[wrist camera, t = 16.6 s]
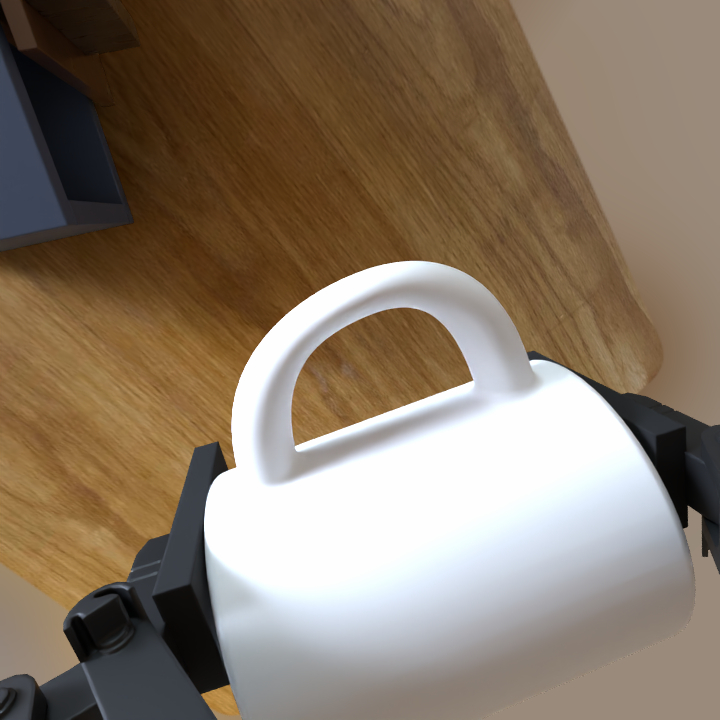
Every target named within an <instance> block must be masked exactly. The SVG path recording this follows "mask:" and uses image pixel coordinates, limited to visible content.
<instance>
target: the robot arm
mask: <svg viewBox="0 0 720 720" xmlns="http://www.w3.org/2000/svg"><path fill="white" fill-rule="evenodd" d="M527 355H528V359H529V361H531V360H545V361H550V362H553V363H556V364H558V365H560V366H562V367H565V366H563V365H561V364H559V363H557V362H555V361H553V360H551V359H549V358H547V357H545V356H543V355H541V354H539V353H537V352H535V351H531V352H528V353H527ZM565 368H566V369H568V370H570V371H571V372H573V373H575V374H576V375H577V376H579V377H580V378H582V379H583V380H584V381H585V382H587V383H588V384H589V385H590V386H591V387H592V388H594V389H595V390H596V391H597V392H598V393H599V394H600V395H601V396H602V397H603V398H604V399H605V400H606V401H607V402H608V403H609V404H610V406H611V407H612V408H613V409H614V410H615V411H616V412H617V414H618V415H619V416H620V417H621V418H622V420H623V421H624V422H625V424H626V425H627V426H628V427H629V429H630V430H631V431H632V433H633V434H634V436H635V437H636V439H637V440H638V441H639V443H640V444H641V446H642V447H643V449H644V451H645V452H646V454H647V455H648V457H649V458H650V460H651V462H652V464H653V465H654V467H655V469H656V470H657V472H658V474H659V476H660V478H661V480H662V482H663V484H664V486H665V487H666V489H667V492H668V494H669V496H670V498H671V500H672V502H673V504H674V507H675V509H676V512H677V514H678V517H679V519H680V522H681V525H682V527H683V528H686V527H688V507H687V506H690V507H691V508H693V509H694V510H696V511H697V512H699V513H700V514H702V556H703V557H708V550H709V549H710V551H711V554H712V556H713V559H714V561H715V564H716V566H717V569H718V571H719V574H720V425H715V426H712V427H710V426H708V425H706V424H704V423H702V422H700V421H698V420H695V419H693V418H691V417H689V416H687V415H685V414H683V413H681V412H678V411H674V409H672V408H670V407H668V406H666V405H663V406H662V404H661V403H659V402H657V401H655V400H653V399H651V398H649V397H646V396H641V395H637V394H632V393H625V394H620V393H618V392H616V391H614V390H612V389H610V388H608V387H606V386H604V385H602V384H600V383H598V382H596V381H594V380H592V379H590V378H588V377H586V376H584V375H582V374H580V373H578V372H576V371H574V370H572V369H569V368H567V367H565ZM226 471H229V470H228V468H227V465H226V462H225V459H224V456H223V454H222V451H221V448H220V445H219V442H214V443H211V444H207V445H204V446H201V447H197V448H195V449H194V453H193V456H192V460H191V463H190V466H189V470H188V473H187V477H186V480H185V484H184V487H183V490H182V494H181V497H180V501H179V504H178V508H177V511H176V514H175V518H174V521H173V525H172V528H171V532H170V534H167V535H164V536H160V537H157V538H154V539H150V540H149V541H148V542H147V543H146V544H145V545H144V547H143V548H142V549H141V550H140V551H139V553H138V554H137V555H136V558H135V560H134V563H133V566H132V568H131V572H130V574H129V576H128V579H127V582H115V583H112V584H108V585H105V586H103V587H101V588H99V589H97V590H95V591H93V592H91V593H90V594H89V595H87V596H86V597H84V598H83V599H82V600H80V601H79V602H78V603H77V604H76V605H75V606H74V607H73V608H72V610H71V611H70V612H69V613H68V615H67V617H66V619H65V621H64V624H63V625H64V626H63V627H64V628H63V631H64V633H65V635H66V637H67V639H68V640H69V642H70V644H71V646H72V648H73V650H74V652H75V653H76V655H77V657H78V659H79V661H80V663H79V664H77V665H76V666H74V667H73V668H71V669H70V670H68V671H66V672H64V673H63V674H61V675H59V676H57V677H56V678H54V679H52V680H50V681H48V682H47V683H45V684H43V685H42V686H38V684H37V682H36V681H35V679H34V678H33V677H31V676H29V675H28V674H23V675H14V676H12V677H9V678H7V679H4V680H2V681H0V720H217V718H216V717H215V715H214V714H213V712H212V711H211V709H210V708H209V706H208V705H207V703H206V702H205V700H204V699H203V698H202V696H201V695H200V694H203V693H206V692H209V691H211V690H214V689H217V688H220V687H223V686H226V685H229V684H230V682H229V679H228V675H227V672H226V668H225V665H224V661H223V657H222V653H221V649H220V645H219V640H218V636H217V632H216V627H215V622H214V617H213V612H212V606H211V600H210V594H209V587H208V579H207V570H206V560H205V544H204V521H205V509H206V502H207V498H208V494H209V491H210V488H211V486H212V484H213V482H214V481H215V479H216V478H217V477H218V476H219V475H220V474H222V473H224V472H226Z"/></svg>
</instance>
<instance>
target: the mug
mask: <svg viewBox="0 0 720 720" xmlns="http://www.w3.org/2000/svg"><path fill="white" fill-rule="evenodd" d="M401 307H407V308H415V309H419V310H422V311H425V312H427V313H429V314H431V315H432V316H434V317H435V318H436V319H438V320H439V321H440V322H441V323H442V324H443V325H444V326H445V327H446V328H447V329H448V331H449V332H450V333H451V335H452V336H453V337H454V339H455V340H456V342H457V344H458V346H459V348H460V349H461V351H462V353H463V355H464V358H465V360H466V362H467V364H468V367H469V370H470V372H471V375H472V378H473V380H474V381H472V382H469V383H466V384H464V385H461V386H458V387H455V388H453V389H450V390H447V391H445V392H442V393H439V394H436V395H434V396H431V397H428V398H425V399H423V400H420V401H417V402H415V403H412V404H409V405H406V406H404V407H401V408H398V409H395V410H393V411H390V412H387V413H384V414H382V415H379V416H376V417H374V418H371V419H368V420H365V421H363V422H360V423H357V424H354V425H352V426H349V427H346V428H344V429H341V430H338V431H335V432H333V433H330V434H327V435H324V436H322V437H319V438H316V439H314V440H311V441H308V442H305V443H303V444H300V445H297V446H295V444H294V439H293V433H292V424H291V405H292V396H293V391H294V387H295V383H296V380H297V377H298V375H299V373H300V370H301V368H302V367H303V365H304V363H305V362H306V360H307V359H308V357H309V356H310V355H311V353H312V352H313V351H314V350H315V349H316V348H317V347H318V346H319V345H320V344H321V343H322V342H323V341H324V340H326V339H327V338H328V337H330V336H331V335H333V334H334V333H336V332H337V331H339V330H340V329H342V328H344V327H346V326H347V325H349V324H351V323H353V322H355V321H357V320H359V319H362V318H364V317H366V316H368V315H371V314H374V313H377V312H380V311H383V310H387V309H392V308H401ZM232 441H233V449H234V455H235V461H236V465H237V468H234V469H232V470H229V471H226V472H224V473H222V474H220V475H219V476H218V477H217V478H216V479H215V481H214V482H213V484H212V486H211V488H210V491H209V494H208V498H207V502H206V509H205V521H204V544H205V560H206V570H207V579H208V587H209V594H210V600H211V606H212V612H213V617H214V622H215V627H216V632H217V636H218V640H219V645H220V649H221V653H222V657H223V661H224V665H225V668H226V672H227V675H228V679H229V682H230V685H231V689H232V692H233V695H234V698H235V701H236V704H237V707H238V709H239V712H240V715H241V718H242V720H481V719H484V718H486V717H488V716H490V715H493V714H495V713H497V712H499V711H502V710H504V709H507V708H509V707H511V706H514V705H516V704H518V703H520V702H523V701H525V700H527V699H530V698H532V697H534V696H537V695H539V694H541V693H544V692H546V691H548V690H550V689H553V688H555V687H557V686H560V685H562V684H564V683H567V682H569V681H571V680H574V679H576V678H578V677H581V676H583V675H585V674H587V673H590V672H592V671H594V670H597V669H599V668H601V667H604V666H606V665H608V664H611V663H613V662H615V661H617V660H620V659H622V658H625V657H627V656H629V655H632V654H634V653H636V652H638V651H641V650H643V649H645V648H648V647H650V646H652V645H655V644H657V643H659V642H662V641H664V640H666V639H668V638H671V637H673V636H675V635H677V634H679V633H680V632H681V631H682V630H683V629H684V628H685V627H686V626H687V624H688V623H689V621H690V618H691V616H692V613H693V609H694V604H695V577H694V569H693V564H692V559H691V555H690V550H689V547H688V543H687V540H686V536H685V533H684V531H683V527H682V525H681V522H680V519H679V517H678V514H677V512H676V509H675V507H674V504H673V502H672V500H671V498H670V496H669V494H668V492H667V489H666V487H665V486H664V484H663V482H662V480H661V478H660V476H659V474H658V472H657V470H656V469H655V467H654V465H653V464H652V462H651V460H650V458H649V457H648V455H647V454H646V452H645V451H644V449H643V447H642V446H641V444H640V443H639V441H638V440H637V439H636V437H635V436H634V434H633V433H632V431H631V430H630V429H629V427H628V426H627V425H626V424H625V422H624V421H623V420H622V418H621V417H620V416H619V415H618V414H617V412H616V411H615V410H614V409H613V408H612V407H611V406H610V404H609V403H608V402H607V401H606V400H605V399H604V398H603V397H602V396H601V395H600V394H599V393H598V392H597V391H596V390H595V389H594V388H592V387H591V386H590V385H589V384H588V383H587V382H585V381H584V380H583V379H582V378H580V377H579V376H577V375H576V374H575V373H573V372H571V371H570V370H568V369H566V368H565V367H562V366H560V365H558V364H556V363H553V362H550V361H545V360H531V361H529V359H528V355H527V353H526V350H525V348H524V345H523V343H522V341H521V338H520V336H519V334H518V331H517V329H516V327H515V326H514V324H513V322H512V320H511V318H510V317H509V315H508V314H507V312H506V311H505V309H504V308H503V306H502V305H501V304H500V302H499V301H498V300H497V299H496V298H495V296H494V295H493V294H492V293H491V292H490V291H489V290H488V289H487V288H486V287H484V286H483V285H482V284H481V283H480V282H478V281H477V280H476V279H474V278H473V277H471V276H469V275H468V274H466V273H464V272H462V271H460V270H458V269H455V268H453V267H450V266H447V265H443V264H439V263H434V262H426V261H404V262H395V263H390V264H384V265H380V266H377V267H373V268H369V269H367V270H364V271H361V272H358V273H355V274H353V275H351V276H348V277H346V278H344V279H342V280H339V281H337V282H335V283H333V284H331V285H329V286H328V287H326V288H324V289H322V290H320V291H319V292H317V293H315V294H314V295H312V296H311V297H309V298H308V299H306V300H305V301H303V302H302V303H301V304H299V305H298V306H297V307H295V308H294V309H293V310H292V311H291V312H289V313H288V314H287V315H286V316H285V317H284V318H282V319H281V320H280V321H279V322H278V323H277V324H276V325H275V326H274V327H273V328H272V329H271V331H270V332H269V333H268V334H267V335H266V336H265V338H264V339H263V340H262V341H261V343H260V344H259V345H258V347H257V348H256V350H255V351H254V353H253V354H252V356H251V358H250V359H249V361H248V363H247V365H246V367H245V369H244V371H243V373H242V376H241V378H240V381H239V384H238V387H237V391H236V394H235V399H234V404H233V411H232Z"/></svg>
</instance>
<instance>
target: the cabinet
mask: <svg viewBox="0 0 720 720" xmlns="http://www.w3.org/2000/svg"><path fill="white" fill-rule="evenodd" d="M130 223H134V220H133V217H132V214H131V211H130V208H129V206H128V203H127V200H126V197H125V194H124V191H123V188H122V185H121V182H120V179H119V176H118V173H117V170H116V168H115V165H114V162H113V159H112V156H111V153H110V150H109V147H108V144H107V141H106V138H105V135H104V132H103V130H102V127H101V124H100V121H99V118H98V115H97V112H96V109H95V106H94V103H93V100H91V99H90V98H88V97H87V96H85V95H84V94H82V93H81V92H79V91H78V90H76V89H75V88H73V87H72V86H70V85H69V84H67V83H66V82H65V81H63V80H62V79H60V78H59V77H57V76H56V75H54V74H53V73H51V72H50V71H48V70H47V69H45V68H44V67H42V66H41V65H39V64H38V63H36V62H35V61H33V60H32V59H30V58H29V57H27V56H26V55H24V54H23V53H21V52H20V51H19V50H18V49H17V46H16V43H15V41H14V38H13V35H12V33H11V30H10V27H9V25H8V22H7V19H6V17H5V14H4V11H3V9H2V6H1V3H0V252H2V251H6V250H11V249H16V248H20V247H25V246H29V245H34V244H39V243H43V242H48V241H52V240H57V239H62V238H66V237H71V236H75V235H80V234H85V233H89V232H94V231H98V230H103V229H107V228H112V227H117V226H121V225H126V224H130Z"/></svg>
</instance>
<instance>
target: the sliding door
mask: <svg viewBox="0 0 720 720" xmlns="http://www.w3.org/2000/svg"><path fill="white" fill-rule="evenodd" d="M0 3H1V6H2V9H3V11H4V14H5V17H6V19H7V22H8V25H9V27H10V30H11V33H12V35H13V38H14V41H15V43H16V46H17V49H18V50H19V51H20V52H21V53H23V54H24V55H26V56H27V57H29V58H30V59H32V60H33V61H35V62H36V63H38V64H39V65H41V66H42V67H44V68H45V69H47V70H48V71H50V72H51V73H53V74H54V75H56V76H57V77H59V78H60V79H62V80H63V81H65V82H66V83H67V84H69V85H70V86H72V87H73V88H75V89H76V90H78V91H79V92H81V93H82V94H84V95H85V96H87V97H88V98H90V99H91V100H93V101H94V102H96V103H97V104H99V105H100V106H102V107H106V106H111V105H114V104H115V103H114V100H113V97H112V94H111V91H110V88H109V85H108V82H107V79H106V76H105V73H104V70H103V67H102V64H101V61H100V58H99V55H98V54H101V53H106V52H112V51H117V50H123V49H129V48H134V47H140V46H141V44H140V41H139V38H138V35H137V31H136V28H135V25H134V21H133V19H132V17H131V16H130V14H129V13H128V11H127V10H126V9H125V7H124V6H123V4H122V3H121V1H120V0H0Z"/></svg>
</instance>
